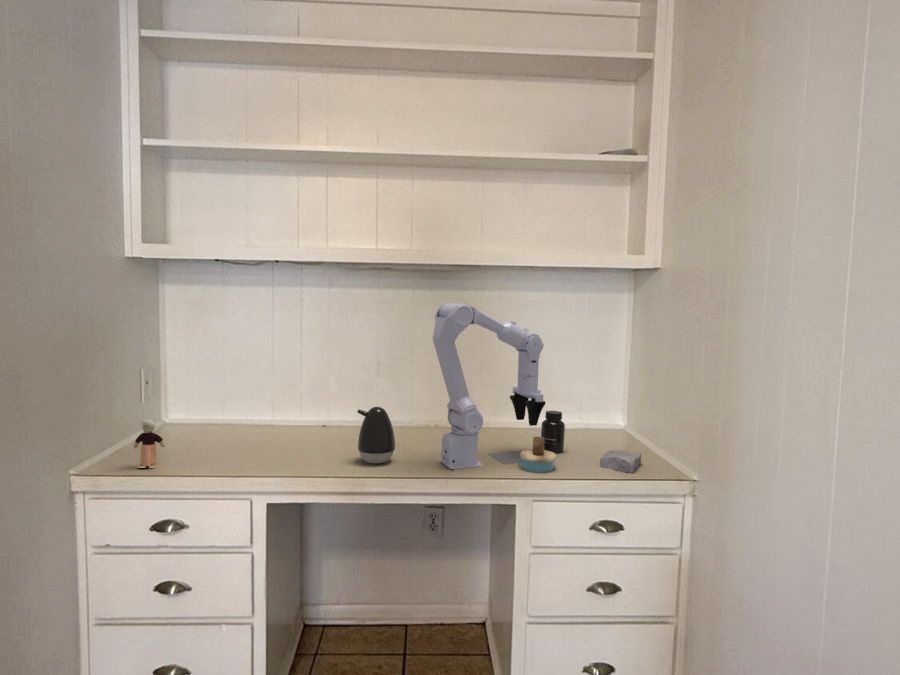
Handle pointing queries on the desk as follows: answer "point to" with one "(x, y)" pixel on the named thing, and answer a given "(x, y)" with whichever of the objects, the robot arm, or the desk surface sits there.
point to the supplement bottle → (553, 432)
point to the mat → (507, 457)
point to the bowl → (536, 466)
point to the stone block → (621, 460)
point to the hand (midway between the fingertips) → (526, 422)
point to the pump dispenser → (376, 436)
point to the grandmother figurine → (148, 443)
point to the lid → (538, 452)
